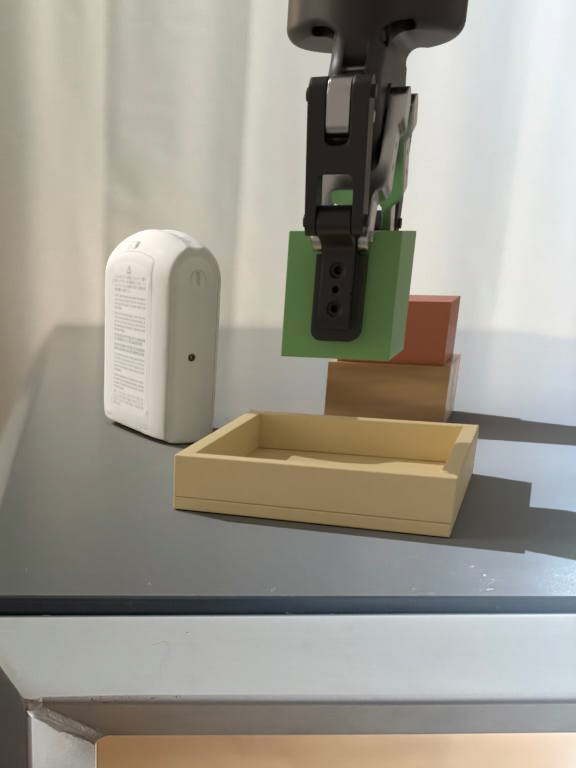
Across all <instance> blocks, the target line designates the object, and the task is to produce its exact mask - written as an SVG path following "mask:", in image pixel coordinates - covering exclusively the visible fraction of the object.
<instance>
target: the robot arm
mask: <svg viewBox="0 0 576 768" xmlns="http://www.w3.org/2000/svg"><path fill="white" fill-rule="evenodd" d="M468 7H469V0H288V4H287V18H286V19H287V21H286V34H287V38H288V40H289V42H290V43H292V44H293V45H294V46H295V47H297V48H299V49H301V50H305V51H308V52H313V53H320V54H321V53H322V54H331V55H330V56H331V57H330V63H329V68H328V73H327V75H324V76H323V75H321V76H311V77H310V79H309V81H308V87H307V88H306V89H305V101H306V104H307V105H306V107H307V108H306V144H305V145H306V147H305V180H304V181H305V183H304V186H305V187H304V193H305V194H304V215H303V217H302V227H303V228H304V230H303V231H305V235H306V236H311V237H310V241H311V243H312V249H313V252H322V254H316V267H315V280H314V292H313V305H312V318H311V334H312V336H313V337H314V338H315V339H316V340H319V341H338V342H350V341H353V340H355V339H357V338H358V337H359V336H360V334H361V331H362V323H363V312H364V302H365V292H366V281H367V271H368V261H369V254H359V253H360V252H370V249H371V245H372V243H374V240H375V231H400V229H402V226H403V218H402V210H403V204H404V196H405V193H406V190H407V188H408V183H409V181H408V179H409V166H410V165H409V163H410V153H411V145H412V137H413V133H414V130H415V129H416V127H417V123H418V112H419V93H418V92H412V86H411V85H407V72H408V71H407V70H408V68H407V60H408V57H409V56H410V54H411V53H412V52H413V51H414V50H416V49H420V48H421V49H422V48H423V49H425V48H426V49H429V48H434V47H438V46H441V45H444V44H447V43H449V42H451V41H453V40H455V39H456V38H457V37H458V36H459V35H461V33H462V32H463V30H464V28H465V26H466V22H467V15H468ZM379 206H380V208H381V209H378V207H379Z"/></svg>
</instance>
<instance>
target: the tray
mask: <svg viewBox="0 0 576 768" xmlns="http://www.w3.org/2000/svg"><path fill="white" fill-rule="evenodd" d="M479 430H480V425H479V424H470V423H469V424H468V423H456V422H455V423H452V422H446V423H440V422H424V421H409V420H393V419H378V418H363V417H347V416H332V415H324V414H315V413H299V412H287V411H286V412H283V411H281V412H280V411H269V410H254V409H251V410H249V411H248V412H247V411H246V412H245V413H244V414H242V415H240V416H238V417H237V418H235V419H234V420H232V421H230V422H229V423H226V424H225V425H223V426H222V427H219V428H218V429H216V430H214V431H212V433H211V434H210V435H208V436H206V437H204V438H203V439H201V440H199V441H198V442H194V443H191V444H190V445H189V446H187V447H186V448H184V449H182V450H180V451H179V452H178V453H175V454H174V461H173V462H174V464H173V465H174V466H173V468H174V469H173V470H174V471H173V498H172V500H173V501H172V502H173V503H172V508H173V509H174V510H183V511H184V510H185V511H194V512H203V513H214V514H222V515H232V516H240V517H241V516H242V517H249V518H260V519H270V520H279V521H289V522H298V523H307V524H317V525H327V526H334V527H335V526H337V527H345V528H355V529H364V530H374V531H382V532H383V531H384V532H392V533H402V534H412V535H420V536H421V535H423V536H432V537H439V538H440V537H441V538H450V537H451V534H452V532H453V529H454V525H455V523H456V520H457V517H458V515H459V512H460V509H461V507H462V503H463V502H464V501H463V500H464V498H465V495H466V493H467V490H468V486H469V484H470V481H471V478H472V475H473V473H474V467H475V458H476V452H477V445H478V439H479V433H480V431H479Z"/></svg>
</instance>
